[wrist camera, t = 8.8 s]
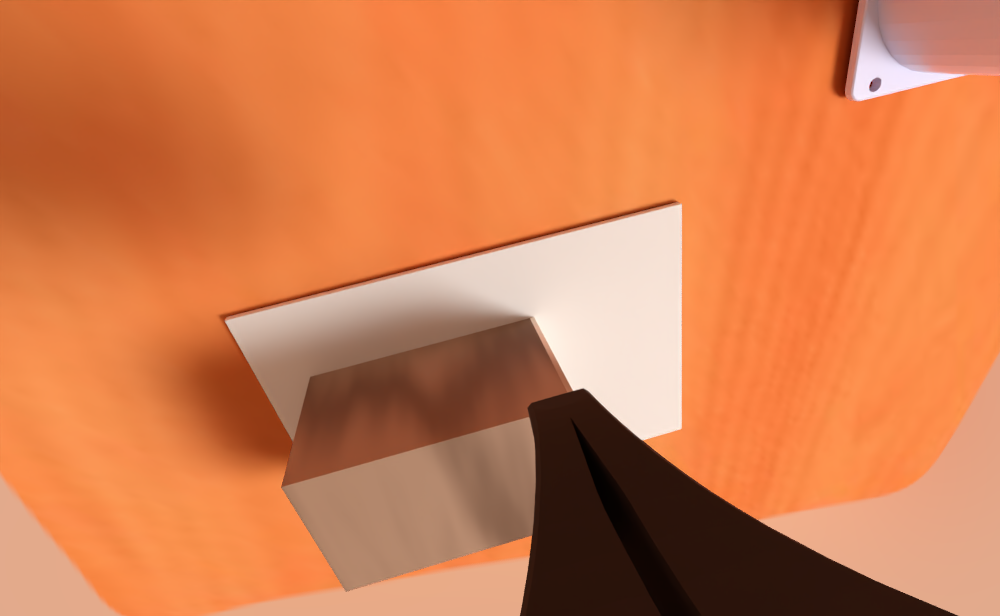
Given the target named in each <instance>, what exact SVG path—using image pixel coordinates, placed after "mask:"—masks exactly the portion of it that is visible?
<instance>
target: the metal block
mask: <svg viewBox="0 0 1000 616" xmlns="http://www.w3.org/2000/svg"><path fill="white" fill-rule="evenodd" d="M571 391H573V390H572V388H571V386H570V384H569V382H568V380H567V378H566V377H565V375H564V373H563V371H562V369H561V367H560V365H559V363H558V361H557V360H556V358H555V356H554V354H553V352H552V350H551V348H550V346H549V344H548V342H547V341H546V339H545V337H544V335H543V333H542V331H541V329H540V327H539V325H538V323H537V322H536V320H535V318H534V317H532V318H529V319H525V320H521V321H517V322H514V323H510V324H506V325H502V326H499V327H495V328H491V329H487V330H484V331H480V332H476V333H472V334H469V335H465V336H461V337H457V338H454V339H450V340H446V341H443V342H439V343H435V344H431V345H428V346H424V347H420V348H416V349H413V350H409V351H405V352H401V353H398V354H394V355H390V356H386V357H383V358H379V359H375V360H371V361H368V362H364V363H360V364H357V365H353V366H349V367H345V368H342V369H338V370H334V371H330V372H327V373H323V374H319V375H315V376H312V377H310V379H309V383H308V387H307V391H306V395H305V398H304V402H303V406H302V410H301V414H300V417H299V421H298V425H297V429H296V433H295V437H294V440H293V444H292V448H291V452H290V456H289V460H288V463H287V467H286V471H285V475H284V479H283V482H282V486H281V488H282V489H283V491H284V492H285V494H286V496H287V497H288V499H289V500H290V502H291V504H292V505H293V507H294V509H295V510H296V512H297V513H298V515H299V517H300V518H301V520H302V521H303V523H304V525H305V526H306V528H307V529H308V531H309V533H310V534H311V536H312V538H313V539H314V541H315V542H316V544H317V546H318V547H319V549H320V550H321V552H322V554H323V555H324V557H325V559H326V560H327V562H328V563H329V565H330V567H331V568H332V570H333V571H334V573H335V575H336V576H337V578H338V580H339V581H340V583H341V584H342V586H343V588H344V589H345V591H346V592H347V591H350V590H353V589H357V588H360V587H363V586H367V585H370V584H373V583H376V582H380V581H383V580H386V579H390V578H393V577H396V576H400V575H403V574H406V573H409V572H413V571H416V570H419V569H423V568H426V567H429V566H433V565H436V564H439V563H442V562H446V561H449V560H452V559H456V558H459V557H462V556H466V555H469V554H472V553H475V552H479V551H482V550H485V549H489V548H492V547H495V546H498V545H502V544H505V543H508V542H512V541H515V540H518V539H522V538H525V537H528V536H531V535H532V533H533V522H534V505H535V487H536V469H535V443H534V436H533V431H532V427H531V422H530V418H529V413H528V409H527V408H528V406H529V405H530V404H531V403H532V402H536V401H539V400H543V399H546V398H550V397H553V396H557V395H561V394H564V393H568V392H571Z"/></svg>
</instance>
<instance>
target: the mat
mask: <svg viewBox="0 0 1000 616" xmlns="http://www.w3.org/2000/svg"><path fill="white" fill-rule="evenodd" d="M532 317H534V318H535V320H536V322H537V323H538V325H539V327H540V329H541V331H542V333H543V335H544V337H545V339H546V341H547V342H548V344H549V346H550V348H551V350H552V352H553V354H554V356H555V358H556V360H557V361H558V363H559V365H560V367H561V369H562V371H563V373H564V375H565V377H566V378H567V380H568V382H569V384H570V386H571V388H572V390H573V391H575V390H578V389H582V388H584V389H586V390H588V391H589V392H590V393H591V394H592V395H593V396H594V397H595V398H596V399H597V400H598V401H599V402H600V403H601V404H602V405H603V406H604V407H605V408H606V409H607V410H608V411H609V412H610V413H611V414H612V415H613V416H614V417H616V418H617V419H618V420H619V421H620V422H621V423H622V424H623V425H624V426H626V427H627V428H628V429H629V430H630V431H631V432H633V433H634V434H635V435H636V436H637V437H639V438H640V439H641V440H645V439H649V438H652V437H655V436H659V435H662V434H666V433H669V432H672V431H676V430H679V429H681V414H682V204H681V203H679V202H676V203H672V204H668V205H664V206H660V207H656V208H652V209H648V210H644V211H640V212H637V213H633V214H629V215H625V216H621V217H617V218H613V219H609V220H605V221H601V222H597V223H593V224H590V225H586V226H582V227H578V228H574V229H570V230H566V231H562V232H558V233H554V234H550V235H546V236H542V237H539V238H535V239H531V240H527V241H523V242H519V243H515V244H511V245H507V246H503V247H499V248H495V249H491V250H488V251H484V252H480V253H476V254H472V255H468V256H464V257H460V258H456V259H452V260H448V261H444V262H440V263H437V264H433V265H429V266H425V267H421V268H417V269H413V270H409V271H405V272H401V273H397V274H393V275H390V276H386V277H382V278H378V279H374V280H370V281H366V282H362V283H358V284H354V285H350V286H346V287H342V288H339V289H335V290H331V291H327V292H323V293H319V294H315V295H311V296H307V297H303V298H299V299H295V300H291V301H288V302H284V303H280V304H276V305H272V306H268V307H264V308H260V309H256V310H252V311H248V312H244V313H240V314H237V315H233V316H229V317H227V318H226V319H225V322H226V324H227V326H228V328H229V329H230V331H231V333H232V335H233V336H234V338H235V340H236V342H237V344H238V345H239V347H240V349H241V351H242V352H243V354H244V356H245V358H246V360H247V361H248V363H249V365H250V367H251V368H252V370H253V372H254V374H255V376H256V377H257V379H258V381H259V383H260V384H261V386H262V388H263V390H264V392H265V393H266V395H267V397H268V399H269V400H270V402H271V404H272V406H273V408H274V409H275V411H276V413H277V415H278V416H279V418H280V420H281V422H282V424H283V425H284V427H285V429H286V431H287V432H288V434H289V436H290V438H291V440H292V441H293V440H294V437H295V433H296V429H297V425H298V421H299V417H300V414H301V410H302V406H303V402H304V398H305V395H306V391H307V387H308V383H309V379H310V377H312V376H315V375H319V374H323V373H327V372H330V371H334V370H338V369H342V368H345V367H349V366H353V365H357V364H360V363H364V362H368V361H371V360H375V359H379V358H383V357H386V356H390V355H394V354H398V353H401V352H405V351H409V350H413V349H416V348H420V347H424V346H428V345H431V344H435V343H439V342H443V341H446V340H450V339H454V338H457V337H461V336H465V335H469V334H472V333H476V332H480V331H484V330H487V329H491V328H495V327H499V326H502V325H506V324H510V323H514V322H517V321H521V320H525V319H529V318H532Z"/></svg>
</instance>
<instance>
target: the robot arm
mask: <svg viewBox="0 0 1000 616" xmlns="http://www.w3.org/2000/svg"><path fill="white" fill-rule="evenodd" d="M964 75H992V76H1000V0H859V5H858V11H857V17H856V24H855V30H854V36H853V43H852V49H851V55H850V62H849V68H848V74H847V81H846V87H845V96H846V98H847V99H849V100H851V101H862V100H866V99H871V98H875V97H879V96H883V95H887V94H891V93H895V92H899V91H903V90H907V89H911V88H915V87H919V86H923V85H928V84H932V83H936V82H940V81H944V80H948V79H952V78H956V77H960V76H964ZM872 80H873V83H872V86H871V87H870V89H869V85H870V83H871V81H872ZM527 409H528V413H529V418H530V422H531V427H532V431H533V436H534V443H535V469H536V487H535V505H534V522H533V533H532V542H531V550H530V558H529V566H528V573H527V580H526V585H525V591H524V597H523V603H522V608H521V613H520V616H957V615H955V614H953V613H950V612H948V611H946V610H943V609H941V608H938V607H936V606H934V605H931V604H929V603H927V602H924V601H922V600H919V599H917V598H915V597H912V596H910V595H908V594H905V593H903V592H900V591H898V590H896V589H893V588H891V587H889V586H886V585H884V584H881V583H879V582H877V581H875V580H873V579H871V578H868V577H866V576H864V575H862V574H860V573H858V572H856V571H854V570H852V569H850V568H848V567H845V566H843V565H841V564H839V563H837V562H835V561H833V560H831V559H829V558H827V557H825V556H823V555H821V554H819V553H817V552H816V551H814V550H812V549H810V548H808V547H806V546H804V545H802V544H800V543H799V542H797V541H795V540H793V539H791V538H789V537H787V536H785V535H783V534H782V533H780V532H778V531H776V530H774V529H772V528H770V527H768V526H767V525H765V524H763V523H761V522H760V521H758V520H756V519H755V518H753V517H751V516H750V515H748V514H746V513H745V512H743V511H741V510H740V509H738V508H736V507H735V506H733V505H732V504H730V503H728V502H727V501H725V500H724V499H722V498H720V497H719V496H717V495H716V494H714V493H713V492H711V491H710V490H708V489H707V488H705V487H704V486H702V485H701V484H699V483H698V482H696V481H695V480H694V479H692V478H691V477H689V476H688V475H686V474H685V473H684V472H682V471H681V470H680V469H678V468H677V467H676V466H674V465H673V464H671V463H670V462H669V461H667V460H666V459H665V458H664V457H662V456H661V455H660V454H658V453H657V452H656V451H655V450H653V449H652V448H651V447H650V446H648V445H647V444H646V443H645V442H644V441H642V440H641V439H640V438H639V437H637V436H636V435H635V434H634V433H633V432H631V431H630V430H629V429H628V428H627V427H626V426H624V425H623V424H622V423H621V422H620V421H619V420H618V419H617V418H616V417H614V416H613V415H612V414H611V413H610V412H609V411H608V410H607V409H606V408H605V407H604V406H603V405H602V404H601V403H600V402H599V401H598V400H597V399H596V398H595V397H594V396H593V395H592V394H591V393H590V392H589V391H588V390H586V389H584V388H582V389H578V390H575V391H571V392H568V393H564V394H561V395H557V396H553V397H550V398H546V399H543V400H539V401H536V402H532V403H531V404H530V405H529V406H528V408H527Z"/></svg>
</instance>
